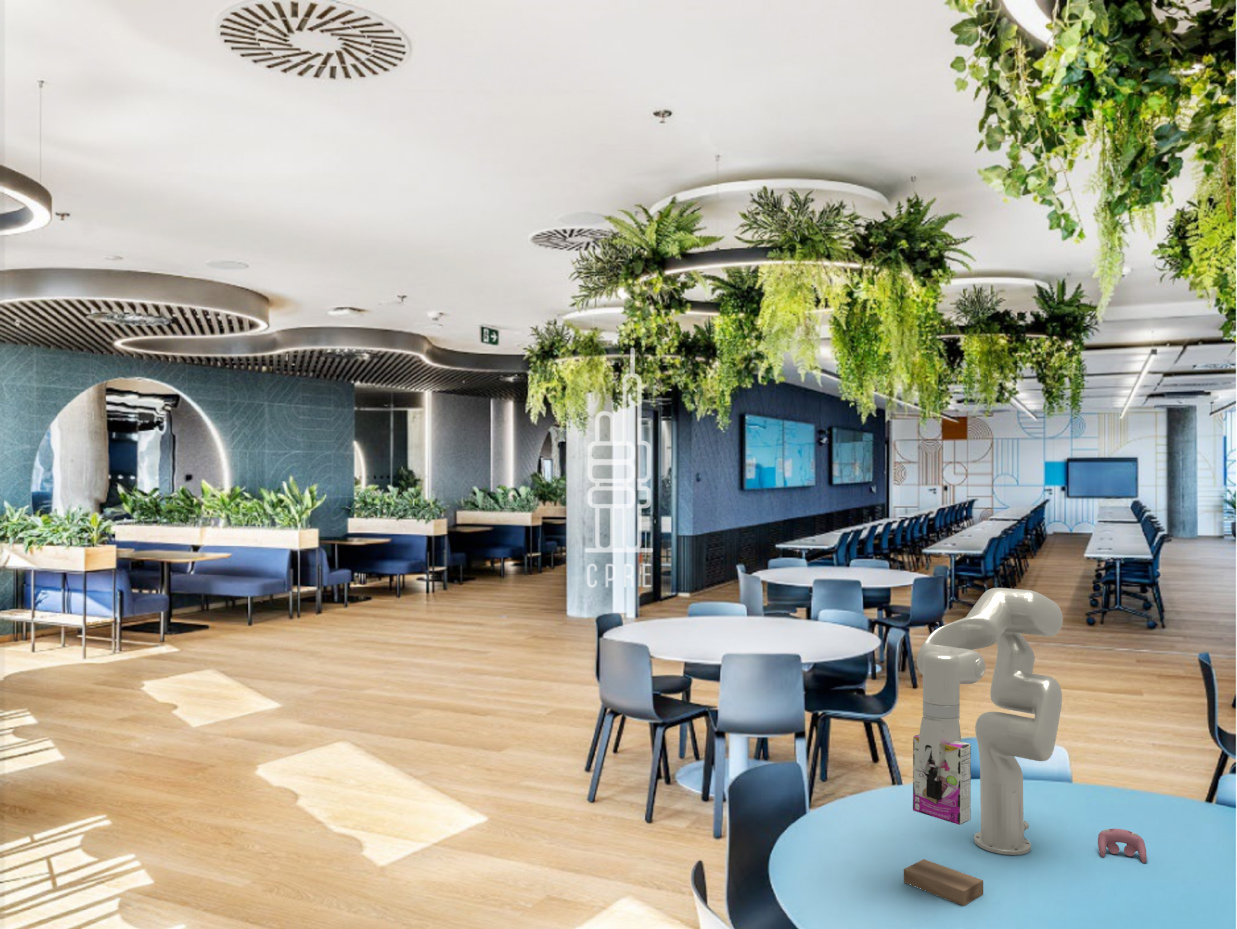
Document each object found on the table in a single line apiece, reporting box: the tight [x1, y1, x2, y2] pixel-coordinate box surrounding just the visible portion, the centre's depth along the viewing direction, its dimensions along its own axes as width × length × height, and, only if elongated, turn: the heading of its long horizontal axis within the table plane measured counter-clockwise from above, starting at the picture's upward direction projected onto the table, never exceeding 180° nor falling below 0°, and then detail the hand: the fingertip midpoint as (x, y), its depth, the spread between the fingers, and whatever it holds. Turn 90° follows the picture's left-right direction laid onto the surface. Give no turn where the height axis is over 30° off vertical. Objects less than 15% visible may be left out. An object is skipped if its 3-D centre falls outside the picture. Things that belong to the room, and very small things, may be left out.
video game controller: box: [1097, 828, 1148, 864], centre depth 209 cm, size 10×5×7 cm, turn 66°
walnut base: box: [903, 858, 984, 907], centre depth 192 cm, size 8×14×3 cm, turn 40°
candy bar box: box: [912, 733, 972, 826], centre depth 192 cm, size 11×5×16 cm, turn 41°
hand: (941, 794), depth 192 cm, fingers closed on candy bar box, 5 cm apart
